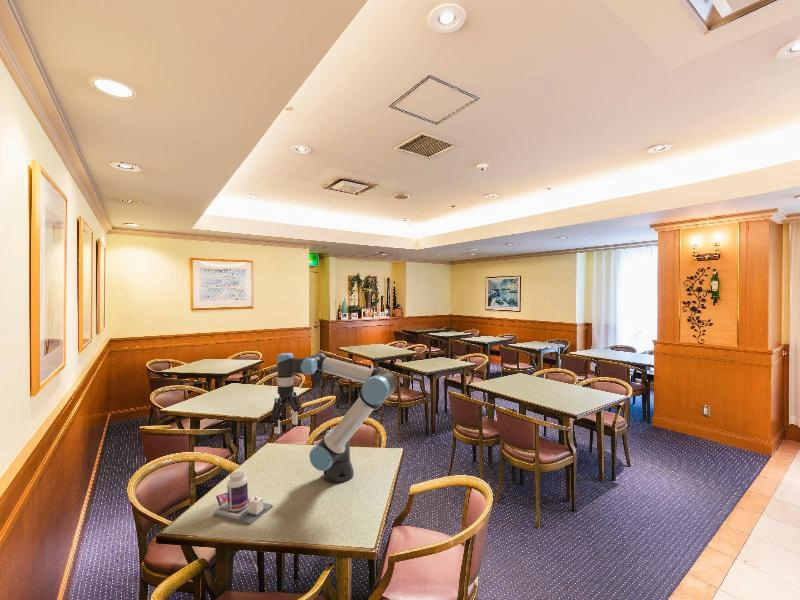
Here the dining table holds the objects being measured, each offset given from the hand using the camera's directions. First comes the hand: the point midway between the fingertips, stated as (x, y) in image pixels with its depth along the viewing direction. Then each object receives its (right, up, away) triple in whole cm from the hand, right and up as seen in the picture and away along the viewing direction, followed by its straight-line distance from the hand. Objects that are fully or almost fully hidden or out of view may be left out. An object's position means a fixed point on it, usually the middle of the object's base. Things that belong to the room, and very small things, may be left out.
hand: (286, 428), depth 188 cm
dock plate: (-11, -27, -24) cm, 38 cm away
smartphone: (-22, -28, -15) cm, 38 cm away
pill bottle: (-14, -26, -23) cm, 38 cm away
